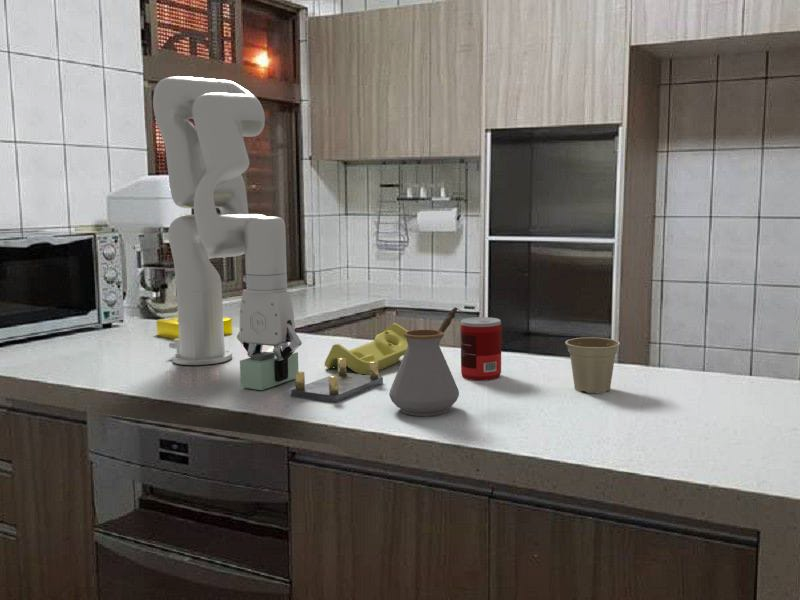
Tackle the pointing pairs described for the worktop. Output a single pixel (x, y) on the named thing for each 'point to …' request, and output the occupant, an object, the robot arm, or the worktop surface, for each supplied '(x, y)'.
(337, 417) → the worktop surface
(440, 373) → the coffee pot
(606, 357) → the flower pot
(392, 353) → the plastic component
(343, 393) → the chassis
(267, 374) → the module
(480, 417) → the worktop surface
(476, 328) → the canned food
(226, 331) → the element tile
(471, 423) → the worktop surface
